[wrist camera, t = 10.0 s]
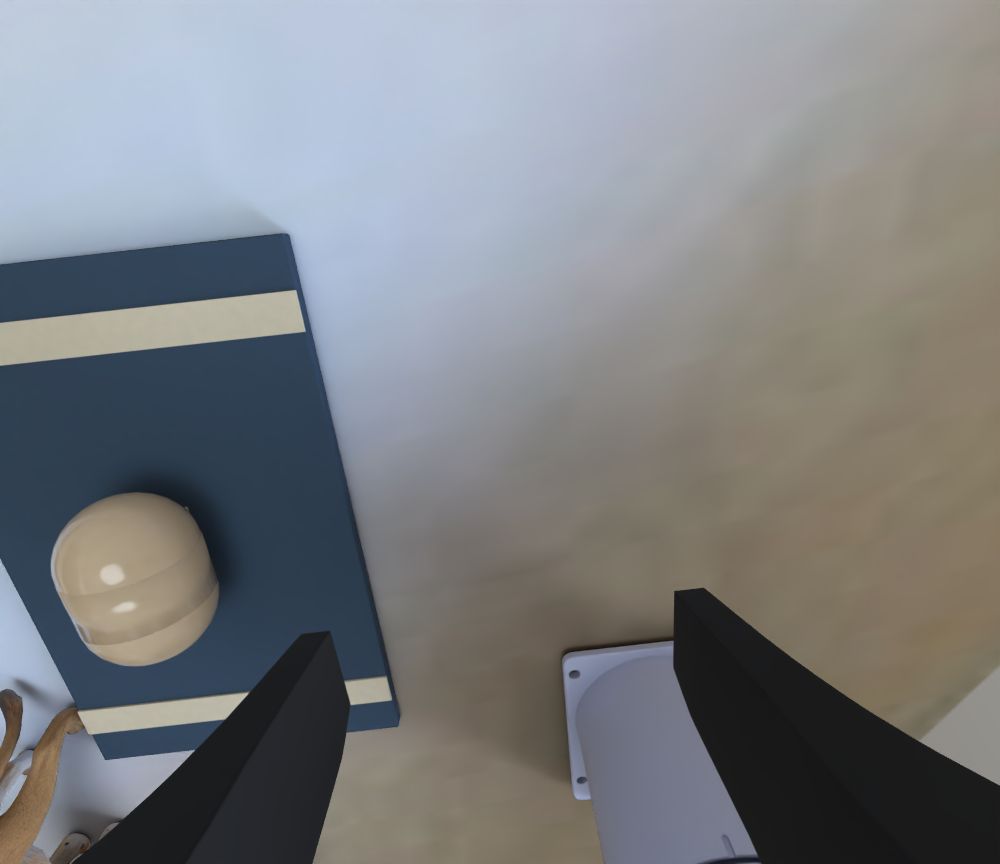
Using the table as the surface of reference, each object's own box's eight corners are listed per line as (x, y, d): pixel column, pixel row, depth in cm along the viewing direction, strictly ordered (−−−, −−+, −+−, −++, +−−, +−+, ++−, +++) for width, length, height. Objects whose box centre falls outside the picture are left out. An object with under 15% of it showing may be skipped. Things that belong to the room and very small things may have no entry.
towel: (400, 716, 25) (398, 729, 25) (113, 748, 25) (103, 762, 24) (289, 233, 17) (281, 233, 17) (-126, 279, 17) (-149, 280, 17)
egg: (252, 603, 22) (199, 688, 18) (148, 615, 22) (71, 702, 18) (206, 465, 20) (134, 525, 16) (89, 478, 20) (-14, 541, 15)
